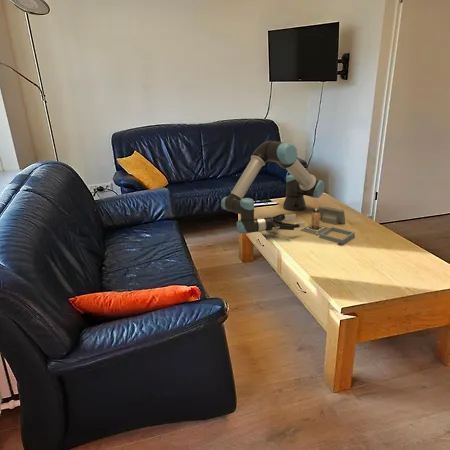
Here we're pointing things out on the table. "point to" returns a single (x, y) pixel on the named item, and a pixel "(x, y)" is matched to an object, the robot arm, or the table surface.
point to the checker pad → (315, 232)
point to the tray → (339, 241)
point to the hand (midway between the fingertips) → (299, 220)
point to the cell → (315, 219)
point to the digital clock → (332, 215)
